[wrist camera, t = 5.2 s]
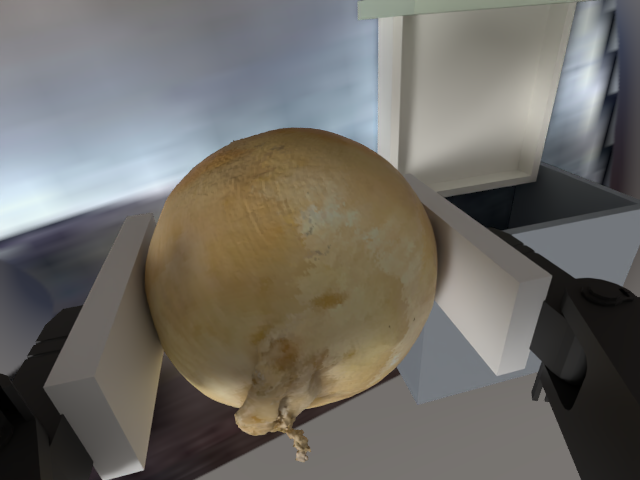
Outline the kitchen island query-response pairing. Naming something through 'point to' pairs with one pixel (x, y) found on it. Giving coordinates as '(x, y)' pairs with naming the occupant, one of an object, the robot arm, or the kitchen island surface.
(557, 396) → the robot arm
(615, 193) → the box
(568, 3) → the drawer
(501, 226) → the kitchen island surface
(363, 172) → the onion
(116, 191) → the kitchen island surface
